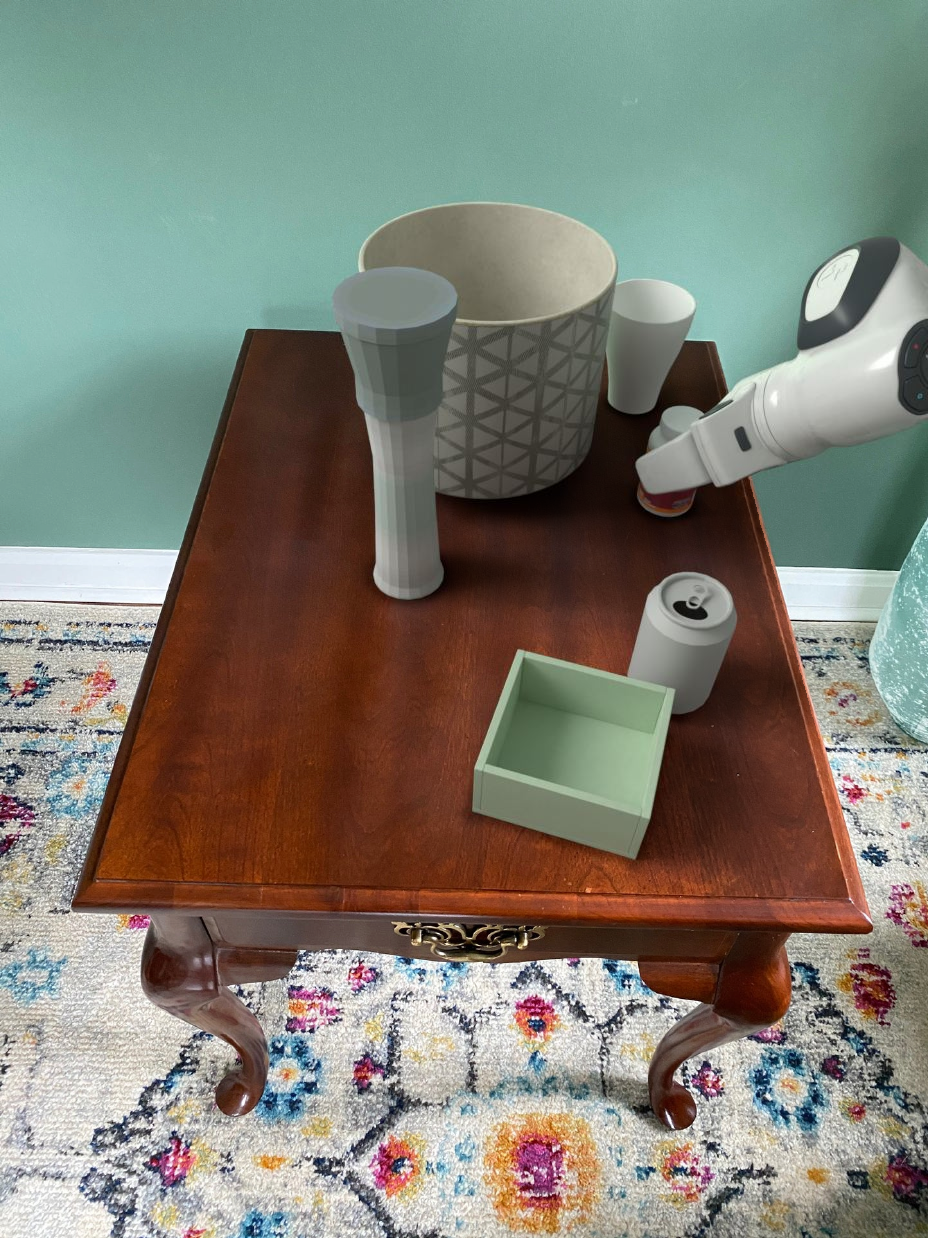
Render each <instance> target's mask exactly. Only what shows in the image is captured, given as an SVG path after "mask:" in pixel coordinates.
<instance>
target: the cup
mask: <svg viewBox="0 0 928 1238" xmlns="http://www.w3.org/2000/svg"><path fill="white" fill-rule="evenodd" d="M696 311H697V301H696V299H695V298H694V296H693V294H692V293H691V292H689V291H688V290H686V289H685V288H683V287H682V286H680V285H677V284H675V283H672V282H669V281H665V280H662V279H661V280H660V279H654V278H631V279H626V280H622V281H620V282H616V287H615V293H614V300H613V306H612V313H611V319H610V326H609V332H608V339H607V345H606V352H605V357H606V360H607V361H606V363H607V375H608V386H607V388H608V392H607V401H608V404H610V406H611V407H612V408H613V409H615V410H617V411H619V412H622V413H624V414H629V415H640V414H645V413H649V412H650V411H652V410H653V409H654V408H655V406H656V404H657V401H658V398H659V395H660V392H661V390H662V387H663V385H664V383H665V380H666V379H667V376H668V374H669V372H670V370H671V368H672V366H673V365H674V362H675V361H676V359H677V358H678V356H679V354H680V352H681V349H682V347H683V345H684V343H685V341H686V339H687V336H688V335H689V332H690V331H691V330H690V329H691V327H692V324H693V321H694V318H695V315H696Z"/></svg>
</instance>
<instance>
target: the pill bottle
mask: <svg viewBox="0 0 928 1238" xmlns="http://www.w3.org/2000/svg"><path fill="white" fill-rule="evenodd" d="M704 414H705V413H703V412H702V411H701V410H699V409H697V408H695V407H692V406H687V405H676V406H671V407H668V408H667V409H665V410H664V411H663V412H662V414H661V418H660V421H659V425H658V426H656V427H655V428H654V429H653V430H652V431H651V433H650V435H649V437H648V438H649V439H648V441H647V447H646V451H645V454H647V453H649V452H650V451H652V450H654V449H656V448H658V447H660V446H661V445H663V444H665V443H667V442H669V441H671V440H672V439H674V438H676V437H678V436H679V435H681V434H683V433H684V432H686V431H687V430H689V429H690V425H691V423H693V422H694V421H696V420H697V419H699V417H701V416H702V415H704ZM697 489H698V487H695V488H691V489H686V490H681V491H675V492H670V493H664V494H656V495H653V494H650V493H649V492H647V491H646V489H645V488H644V486H643V484H642V482H641V480H640V479H639V483H638V486H637V492H636V497H637V500H638V502H639V504H640V505H641V507H642V508H644V509H645V510H646V511H648V512H649V513H651V514H653V515H656V516H659V517H665V518H673V517H678V516H681V515H683V514H685V513H686V512H688V510H689V509H690V508H691V507H692V505H693V502H694V499H695V495H696V493H697Z"/></svg>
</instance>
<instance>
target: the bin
mask: <svg viewBox="0 0 928 1238" xmlns="http://www.w3.org/2000/svg"><path fill="white" fill-rule="evenodd" d="M675 691H676V690H675V689H673V688H669V687H668V688H667V687H665V686H661V685H657V684H653V683H649V682H645V681H641V680H637V679H633V678H630V677H628V676H626V675H621V674H619V673H618V674H617V673H613V672H609V671H606V670H602V669H598V668H594V667H590V666H586V665H582V664H580V663H575V662H570V661H567V660H564V659H559V658H555V657H551V656H547V655H543V654H539V653H536V652H531V651H527V650H524V649H520V648H518V649H517V651H516V653H515V656H514V658H513V661H512V664H511V667H510V670H509V673H508V675H507V678H506V681H505V684H504V687H503V689H502V691H501V694H500V697H499V700H498V702H497V704H496V708H495V710H494V713H493V717H492V719H491V722H490V723H489V727H488V730H487V733H486V735H485V737H484V741H483V744H482V747H481V749H480V752H479V754H478V757H477V760H476V763H475V765H474V767H473V768H474V770H473V790H472V794H473V795H472V813H473V812H474V813H476V814H480V815H483V816H487V817H490V818H494V819H496V820H500V821H503V822H508V823H510V824H513V825H517V826H521V827H523V828H527V829H530V830H534V831H537V832H540V833H544V834H547V835H550V836H554V837H557V838H559V839H560V838H561V839H563V840H567V841H570V842H574V843H577V844H580V845H584V846H588V847H590V848H594V849H597V850H601V851H604V852H607V853H611V854H615V855H618V856H621V857H624V858H628V859H632V860H636V858H637V857H638V854H639V851H640V848H641V845H642V843H643V840H644V837H645V836H646V835H645V834H646V832H647V829H648V826H649V824H650V821H651V818H652V813H653V807H654V802H655V797H656V792H657V787H658V782H659V778H660V771H661V767H662V761H663V757H664V751H665V746H666V741H667V736H668V732H669V727H670V720H671V716H672V714H671V711H672V706H673V701H674V696H675Z"/></svg>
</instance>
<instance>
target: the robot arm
mask: <svg viewBox="0 0 928 1238" xmlns="http://www.w3.org/2000/svg"><path fill="white" fill-rule="evenodd" d="M797 324H798V325H797V333H796V347H797V350H798V354H797V356H795V358H794V359H791V360H787V361H783V362H781V363H779V364H776V365H774V366H771V367H769V368H766V369H763V370H761V371H758V372H756V373H753V374H751V375H749V376H746V377H744V378H742V379H740V380H739V381H738V382H737V383H735V385H734V387H733V388H732V390H730V392H729V393H727V394H726V395H725V396H724V397H723V398H722V399H721V400H720V402H718V404H716V405H715V406H714V407H712V408H711V409H709V410H708V411H707V412H706V413H703V414H704V415H702V416H701V417H699V419H697V420H696V421H694V422H693V423H691V425H690V429H689V430H687V431H686V432H684V433H683V434H681V435H679V436H678V437H676V438H674V439H672V440H671V441H669V442H667V443H665V444H663V445H661V446H660V447H658V448H656V449H654V450H652V451H650V452H649V453H647V454H646V453H645V454H643V455H642V456H640V457H639V458H638V459H636V461H635V464H634V465H635V469H636V472H637V475H638V477H639V481H640V480H641V482H642V484H643V486H644V488H645V489H646V491H647V492H649V493H650V494H653V495H656V494H664V493H670V492H675V491H681V490H686V489H691V488H695V487H697V488H698V487H702V486H705V485H709V484H710V483H711V484H712V483H713V485H714V486H715V487H716V488H723V487H726V486H730V485H733V484H735V483H738V482H740V481H743V480H745V479H747V478H748V477H750V476H753V475H756V474H757V473H760V472H762V471H769V470H772V469H776V468H779V467H783V466H785V465H788V464H792V463H796V462H799V461H803V460H807V459H811V458H814V457H817V456H819V455H821V454H823V453H825V452H826V451H827V450H829V449H831V448H852V447H856V446H860V445H864V444H867V443H870V442H874V441H875V442H876V441H879V440H881V439H884V438H887V437H890V436H894V435H896V434H899V433H901V432H904V431H906V430H908V429H911V428H913V427H915V426H917V425H919V424H922V423H923V422H925V421H926V420H928V265H927V264H926V263H925V262H924V261H923V260H922V259H921V258H919V257H918V255H916V254H915V252H913V251H912V250H911V249H910V248H908V246H906V245H905V244H903V243H902V242H900V241H899V240H898V239H897V238H896V237H894V236H887V235H886V236H885V235H884V236H873V237H868V238H865V239H862V240H860V241H856V242H855V243H852V244H849V245H848V246H846V247H844V248H842V249H841V250H838V251H837V252H836V253H834V254H833V255H831V256H830V257H828V258H827V259H825V261H824V262H822V263H821V264H820V265H819V266H818V267H817V268H816V269H815V270H814V272H813V273H812V274H811V276H810V277H809V279H808V281H807V283H806V285H805V288H804V291H803V294H802V297H801V303H800V309H799V317H798V323H797Z"/></svg>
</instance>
